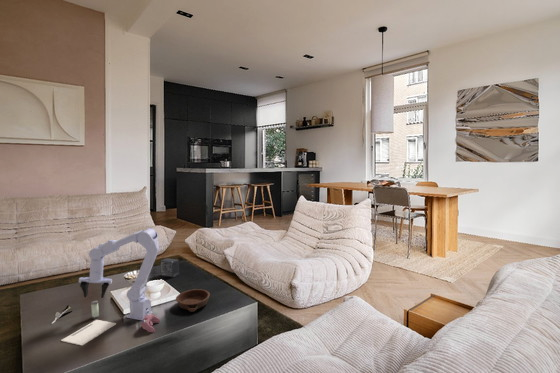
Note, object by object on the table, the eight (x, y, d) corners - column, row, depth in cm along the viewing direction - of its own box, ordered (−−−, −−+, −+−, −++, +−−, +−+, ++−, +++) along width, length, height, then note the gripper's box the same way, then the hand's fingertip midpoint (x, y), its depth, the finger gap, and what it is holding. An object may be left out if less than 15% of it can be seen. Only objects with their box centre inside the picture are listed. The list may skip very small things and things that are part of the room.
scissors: (42, 326, 151) (41, 321, 150) (64, 305, 171) (64, 301, 171) (60, 324, 152) (59, 320, 152) (80, 304, 172) (79, 300, 172)
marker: (100, 316, 158) (99, 301, 157) (95, 319, 155) (94, 303, 154) (95, 315, 159) (94, 300, 158) (90, 318, 156) (89, 303, 155)
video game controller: (152, 325, 152) (145, 313, 151) (161, 320, 152) (153, 308, 151) (145, 337, 142) (137, 324, 141) (155, 332, 142) (147, 319, 141)
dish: (173, 316, 157) (173, 306, 156) (178, 297, 178) (178, 288, 178) (209, 312, 160) (209, 303, 160) (210, 294, 182) (210, 285, 181)
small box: (180, 274, 213) (179, 259, 212) (173, 278, 207) (172, 262, 206) (167, 272, 217) (167, 257, 216) (160, 275, 211) (159, 260, 210)
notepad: (116, 324, 150) (116, 323, 150) (82, 345, 133) (81, 344, 133) (96, 320, 154) (96, 319, 154) (61, 341, 137) (61, 340, 137)
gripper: (115, 268, 161) (112, 293, 162) (83, 266, 158) (81, 292, 159) (110, 273, 154) (107, 300, 155) (77, 271, 151) (75, 298, 152)
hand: (94, 296), depth 157 cm, fingers open, 7 cm apart
